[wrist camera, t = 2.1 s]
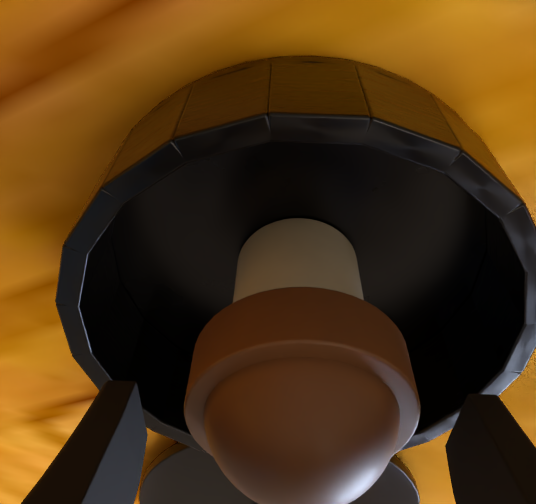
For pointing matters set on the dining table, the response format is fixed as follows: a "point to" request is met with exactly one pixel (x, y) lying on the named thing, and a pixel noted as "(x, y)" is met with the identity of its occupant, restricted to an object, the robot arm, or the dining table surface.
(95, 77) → the dining table surface
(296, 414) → the mushroom
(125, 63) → the dining table surface
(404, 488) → the pan lid
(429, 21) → the dining table surface
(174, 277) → the pan
